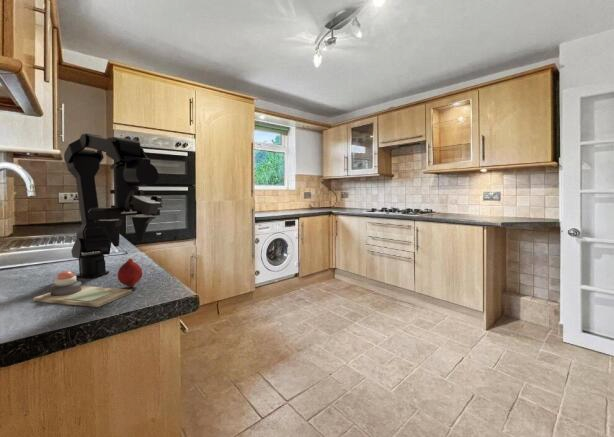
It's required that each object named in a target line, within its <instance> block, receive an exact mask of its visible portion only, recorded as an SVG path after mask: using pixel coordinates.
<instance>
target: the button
mask: <svg viewBox="0 0 614 437" xmlns="http://www.w3.org/2000/svg"><path fill="white" fill-rule="evenodd" d="M77 281H78V280H77V277H76V276H75V273H74V272H72V271H70V270H62V271H61V272H59V273H58V274H57V276H56V277H55V278H54V284H55V286H58V287H60V286H69V285H73V284H76V283H77Z"/></svg>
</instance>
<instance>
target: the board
mask: <svg viewBox="0 0 614 437" xmlns="http://www.w3.org/2000/svg"><path fill="white" fill-rule="evenodd" d="M49 288H50V289H49V292H47V293H45V294H41V295H37V296H34V297H33V298H32V299H33V300H32V301H33V302H38V303H41V302H42V303H51V304H60V305H71V306H72V305H74V306H82V307H83V306H84V307H92V308H93V307H95V308H99V307H101V306H103V305H106V304H109V303H110V302H113V301H115V300H119V299H120V298H123V297H125V296H128V295H130V294H132V293H133V289H126V288H116V287H115V288H113V287H102V286H101V287H98V286H87V285H86V286H85V285H82V281H80V280H77V283H76V284H73V285H69V286H60V287H58V286H55V283H54V284H51V285H50V286H49Z"/></svg>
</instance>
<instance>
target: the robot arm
mask: <svg viewBox="0 0 614 437" xmlns="http://www.w3.org/2000/svg"><path fill="white" fill-rule="evenodd" d="M86 148H87V149H86ZM88 148H89V149H88ZM91 149H93V150H91ZM103 152H105V155H106V157H108V158H110V159H111V160H113V161H114V163H112V164H111V165H110V170H112V171H113V172H112V174H113V189H110V190H109V192H110V194H111V195H114V196H113V198H114V204H113V205H110V207H99V200H98V199H99V198H98V192H97V186H96V185H97V184H96V175H97V174H98V172H99V170H100V164H101V163H102V161H103V160H104V159H105V158H104V157H105V156H104V154H103ZM63 159H64V162H65V164H66V167H67V170H68V172H69V173H70V174H71V175H72V176H73V177H74V178H75V183H76V184H75V185H76V192H77V197H78V198H77V199H78V206H79V213H80V220H81V225H80V227H79V229H78V230H77V232H76V235H75V236H76V239H75V241H74V243H73V246H72V248H71V250H70V252H71V256H72V258H74V259H78V269H79V270H78V271H79V272H78V274H74V276H76V278H87V279H92V278H93V279H94V278H97V277H99V276H100V277H101V276H103V275H107V274H109V273H110V271H109V270H107V269H106V260H105V256H106V255H107V256H108V255H110V253H111V248H112V247H111V246H112V245H113V247H120V227H121V225H122V223H123V222H124V221H125V220H123V219H120V218H121V217H126V216H127V217H128V216H131V220H132V224H133V229H134V232H135V237H136V240H137V242H139V243H142V242H144V241H143V240H144V238H145V234H146V231H147V228H148V226H149V224H150V222H152V221H153V220H154V219H156V216H161V210H160V209H161V208H163V198H162V197H161V196H160V195H152V196H151V197H148V196H145V194H144V191H143V190H141V189H140V187H145V186H147V187H148V186H153V185H155V184H156V183H157V182H158V180H159V175H160V174H159V172H158V169H157V168H156V166H154V164H152V163H151V158H148V156H147V155H146V152H145V151H144V148H143V146H142V145H141V142H140V141H139V140H135V139H129V138H128V139H127V138H122V137H118V136H117V137H116V136H111V137H104V136H101V135H98V134H92V133H82V134H81V135H80V137H79V139H77V140H75V141H72V142H71V143H69V144H68V145H67V147H66V149H65V151H64V154H63Z"/></svg>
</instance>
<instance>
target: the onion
mask: <svg viewBox="0 0 614 437" xmlns="http://www.w3.org/2000/svg"><path fill="white" fill-rule="evenodd" d="M143 274H144V273H143V269H142V267H141V266H140V265H139V264H138V263H136V262H135V261H134V258H132V257H131V258H128V259H127V260H126V262H124V263H123V264H122V265H121V266H120V267H119V269H118V272H117V279H118V281H119V282H120V284H122V285H124V286H126V287H129V288H133V287H134V286H135V285H136V284H137V283H138V282H140V280H141V279H142V277H143Z"/></svg>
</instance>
